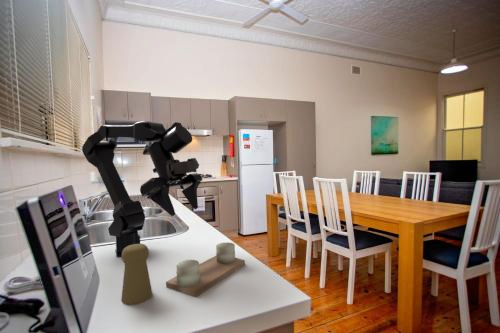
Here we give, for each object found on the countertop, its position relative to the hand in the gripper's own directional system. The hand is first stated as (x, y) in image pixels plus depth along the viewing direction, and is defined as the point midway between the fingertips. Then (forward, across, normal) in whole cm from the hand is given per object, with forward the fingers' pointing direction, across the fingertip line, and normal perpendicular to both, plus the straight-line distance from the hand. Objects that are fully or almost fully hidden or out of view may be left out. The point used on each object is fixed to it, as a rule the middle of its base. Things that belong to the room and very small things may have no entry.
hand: (185, 211), depth 71 cm
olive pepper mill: (+14, -18, +6) cm, 23 cm away
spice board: (+17, -3, -2) cm, 17 cm away
